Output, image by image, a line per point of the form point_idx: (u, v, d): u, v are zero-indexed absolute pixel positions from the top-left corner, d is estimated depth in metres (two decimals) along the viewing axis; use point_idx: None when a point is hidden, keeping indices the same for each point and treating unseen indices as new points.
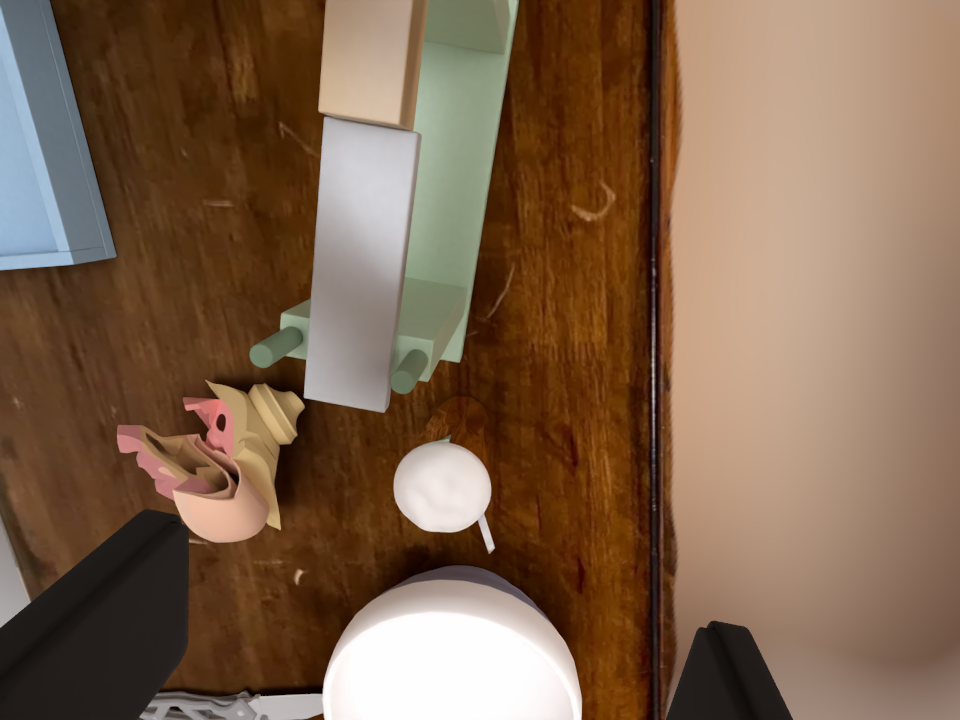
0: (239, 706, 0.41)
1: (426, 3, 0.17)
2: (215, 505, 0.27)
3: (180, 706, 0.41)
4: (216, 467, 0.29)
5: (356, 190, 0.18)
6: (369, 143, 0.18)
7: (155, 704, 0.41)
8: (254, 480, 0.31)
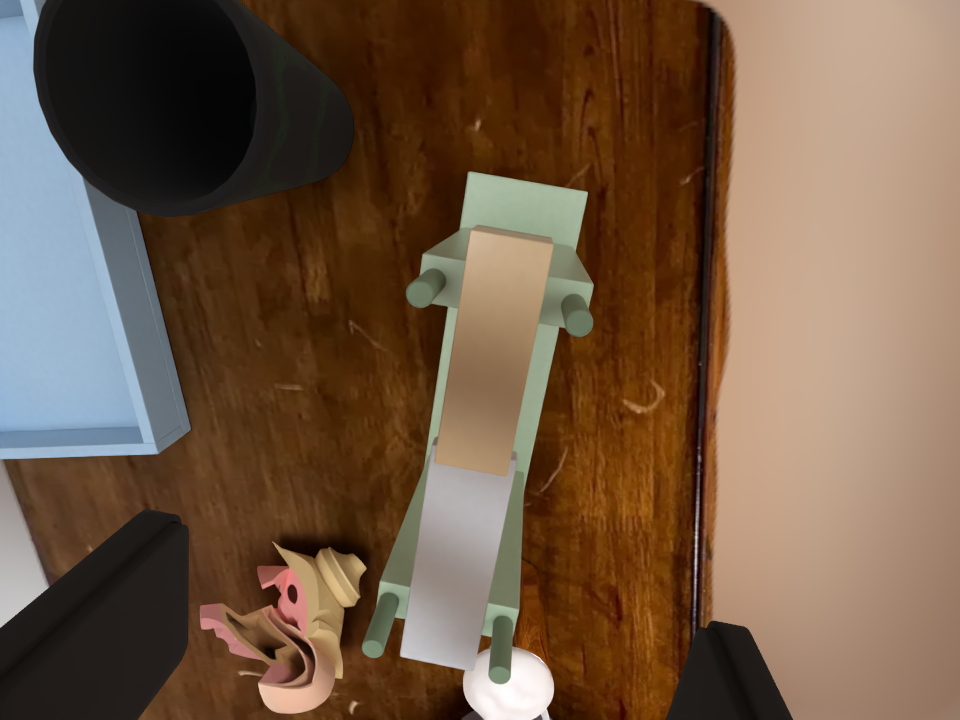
0: None
1: None
2: (296, 693, 0.29)
3: None
4: (292, 645, 0.31)
5: (458, 501, 0.20)
6: None
7: None
8: (324, 649, 0.33)
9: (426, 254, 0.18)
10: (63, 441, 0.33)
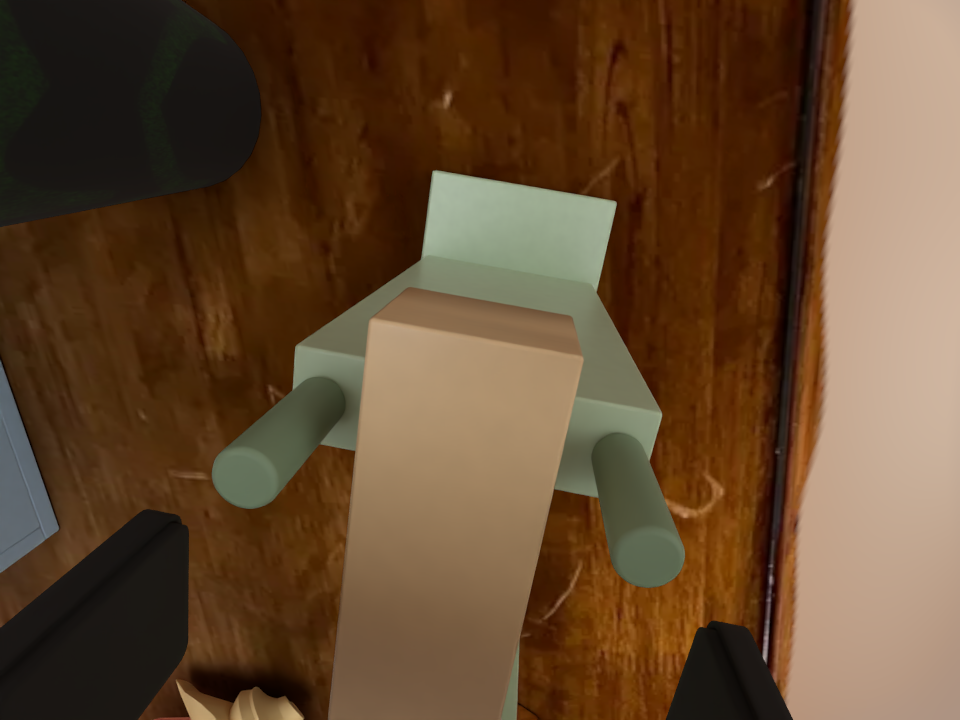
0: None
1: None
2: None
3: None
4: None
5: None
6: None
7: None
8: None
9: (302, 347, 0.09)
10: None
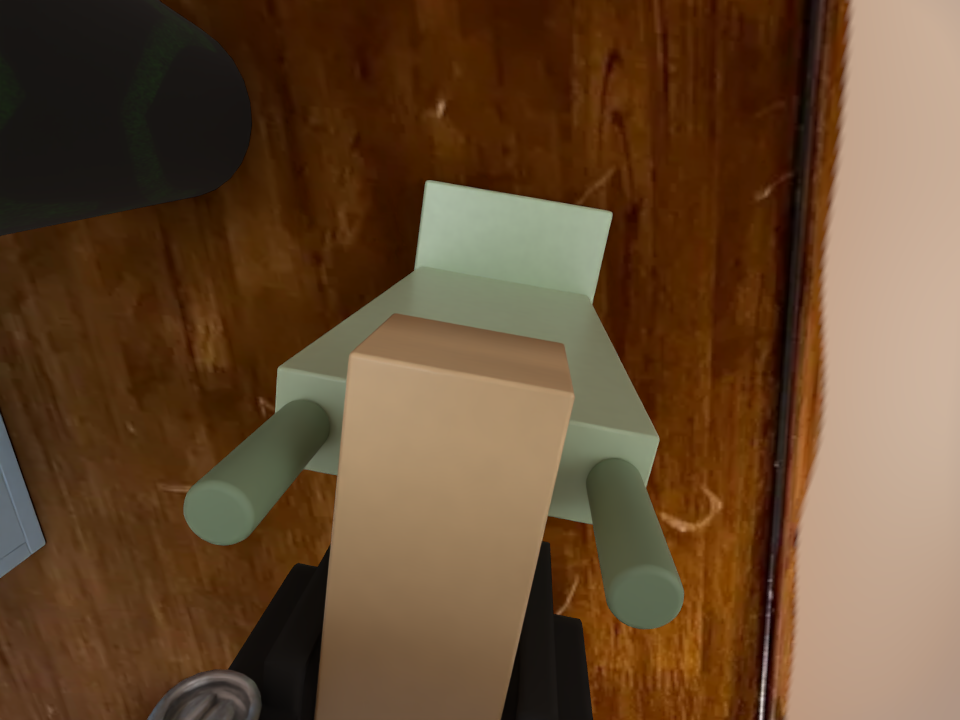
0: None
1: None
2: None
3: None
4: None
5: None
6: None
7: None
8: None
9: (285, 369, 0.08)
10: None
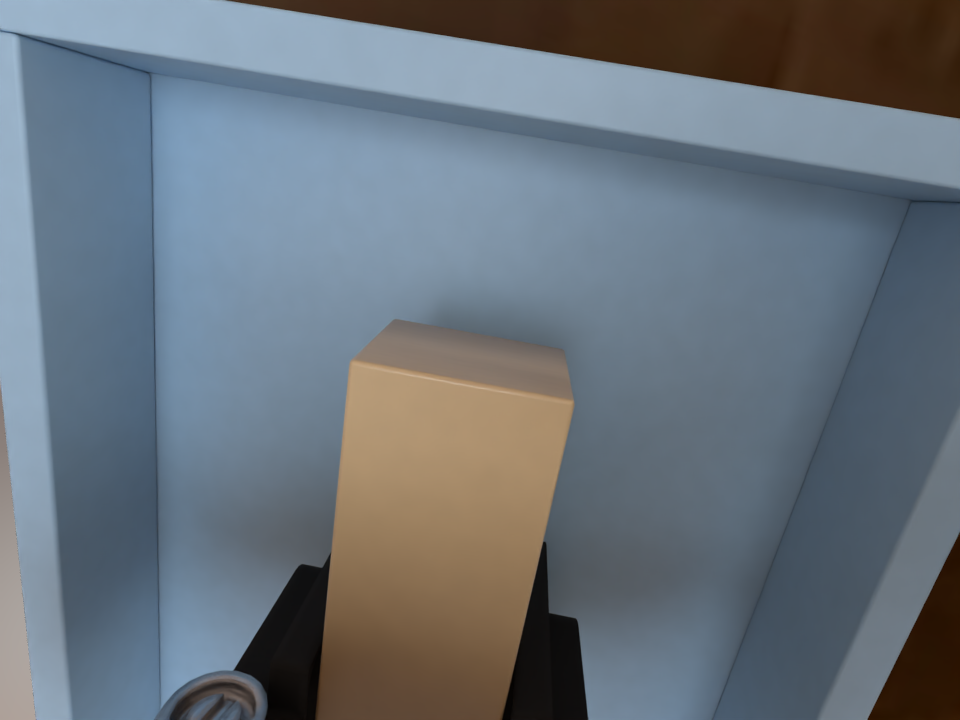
0: None
1: None
2: None
3: None
4: None
5: None
6: None
7: None
8: None
9: None
10: None
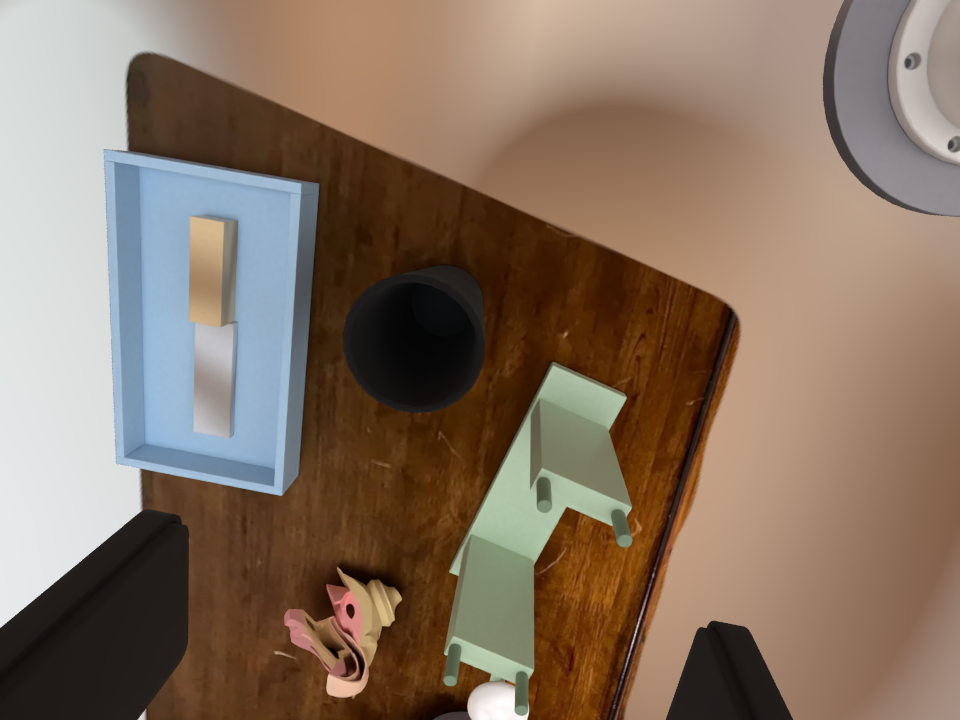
0: None
1: (234, 275, 0.41)
2: (350, 685, 0.42)
3: None
4: (348, 649, 0.44)
5: (210, 345, 0.43)
6: (214, 328, 0.42)
7: None
8: (364, 654, 0.46)
9: (543, 469, 0.31)
10: (209, 469, 0.44)
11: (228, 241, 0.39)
